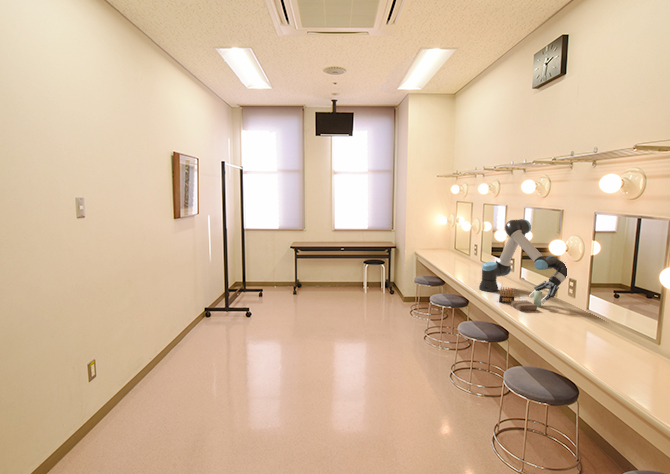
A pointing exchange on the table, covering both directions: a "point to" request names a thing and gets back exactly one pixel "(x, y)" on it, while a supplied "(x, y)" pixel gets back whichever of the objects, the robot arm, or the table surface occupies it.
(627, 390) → the table surface
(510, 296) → the ammunition clip
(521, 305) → the walnut plinth
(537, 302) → the sage cylinder
